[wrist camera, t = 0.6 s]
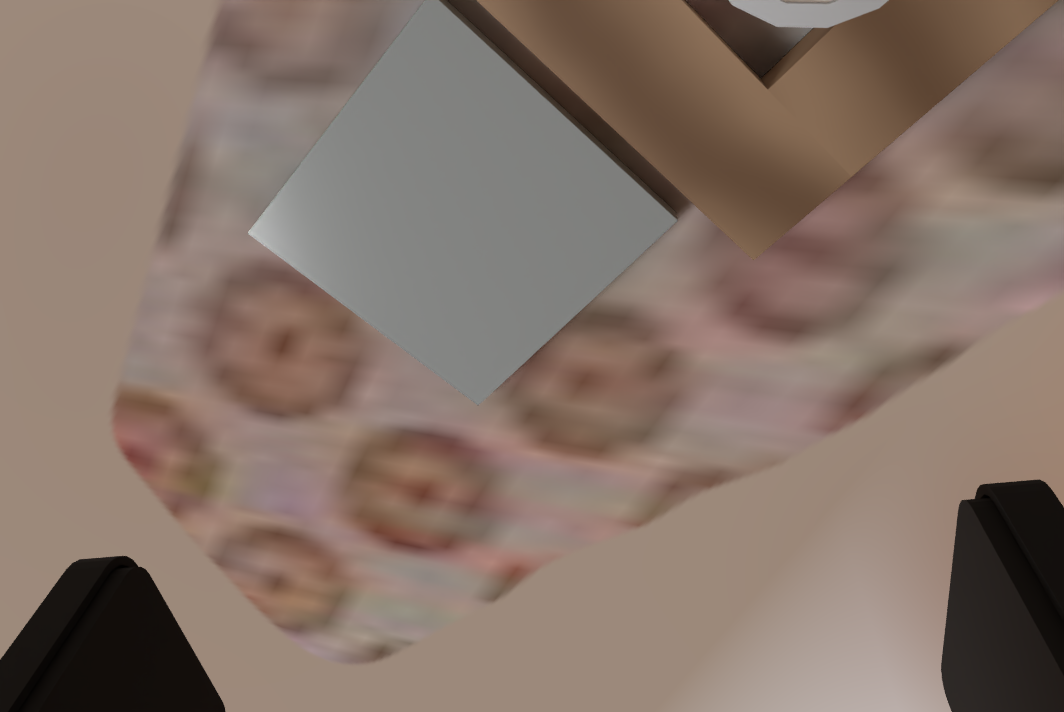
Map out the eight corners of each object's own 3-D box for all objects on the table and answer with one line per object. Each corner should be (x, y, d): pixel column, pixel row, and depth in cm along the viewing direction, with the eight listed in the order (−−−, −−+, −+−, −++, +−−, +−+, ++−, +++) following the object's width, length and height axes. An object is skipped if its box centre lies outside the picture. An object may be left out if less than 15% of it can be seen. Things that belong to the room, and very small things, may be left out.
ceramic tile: (435, -11, 29) (430, -8, 28) (676, 212, 33) (677, 220, 32) (254, 225, 34) (247, 232, 34) (480, 395, 38) (478, 405, 37)
